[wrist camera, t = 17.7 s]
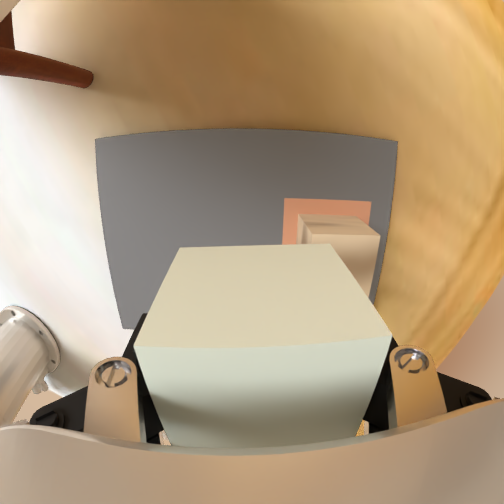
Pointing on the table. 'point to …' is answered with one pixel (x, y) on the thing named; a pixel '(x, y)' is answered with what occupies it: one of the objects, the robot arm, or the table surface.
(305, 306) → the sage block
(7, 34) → the plant pot with stand
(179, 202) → the board
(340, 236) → the maple block
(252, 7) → the table surface
